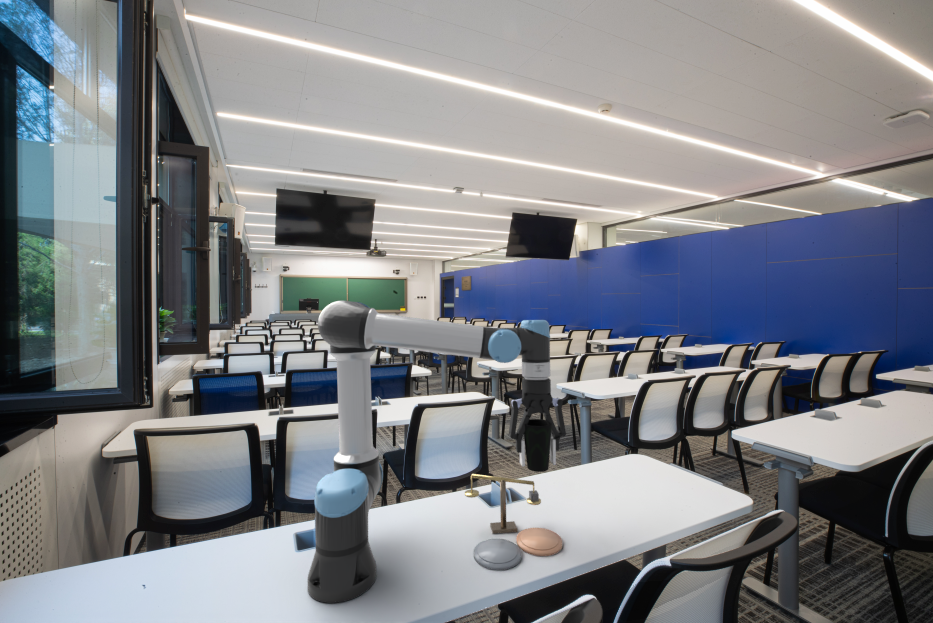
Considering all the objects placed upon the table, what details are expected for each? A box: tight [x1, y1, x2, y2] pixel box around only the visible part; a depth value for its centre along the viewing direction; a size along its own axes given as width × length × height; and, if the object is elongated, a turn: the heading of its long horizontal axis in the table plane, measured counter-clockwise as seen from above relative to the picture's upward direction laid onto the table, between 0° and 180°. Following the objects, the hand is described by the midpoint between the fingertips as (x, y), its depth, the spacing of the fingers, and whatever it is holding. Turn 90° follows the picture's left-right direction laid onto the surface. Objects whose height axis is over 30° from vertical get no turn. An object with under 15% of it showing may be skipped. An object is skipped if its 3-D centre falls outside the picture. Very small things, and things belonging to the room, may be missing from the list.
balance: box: [464, 473, 542, 535], centre depth 114 cm, size 22×4×16 cm, turn 96°
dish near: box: [473, 538, 522, 571], centre depth 101 cm, size 12×12×1 cm
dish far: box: [516, 527, 563, 557], centre depth 106 cm, size 12×12×1 cm
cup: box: [523, 418, 552, 473], centre depth 107 cm, size 8×8×12 cm
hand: (537, 463), depth 107 cm, fingers closed on cup, 8 cm apart
